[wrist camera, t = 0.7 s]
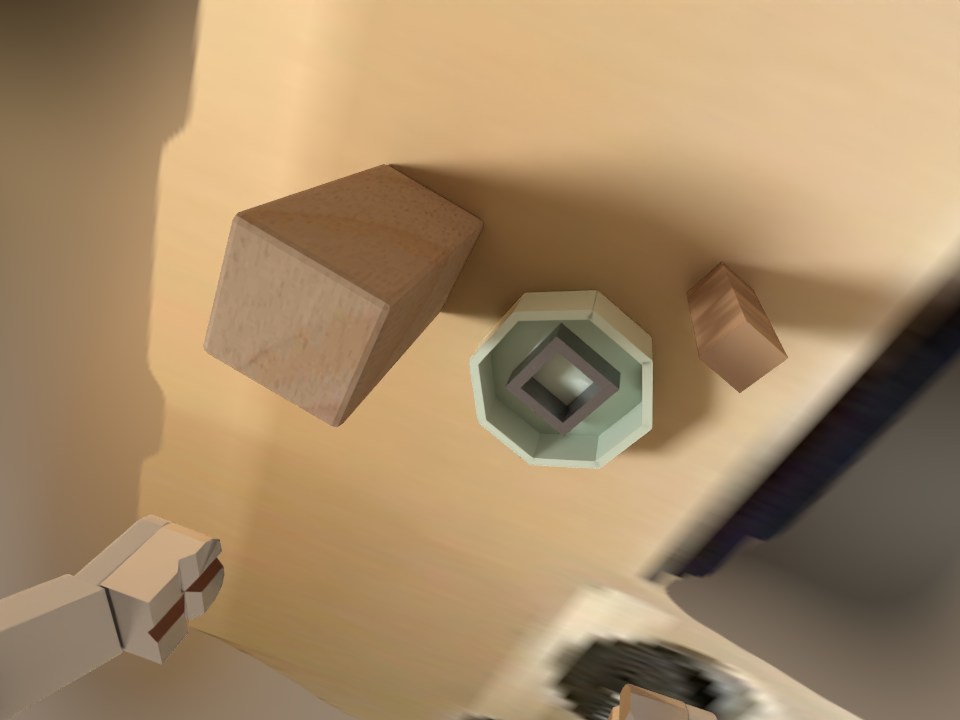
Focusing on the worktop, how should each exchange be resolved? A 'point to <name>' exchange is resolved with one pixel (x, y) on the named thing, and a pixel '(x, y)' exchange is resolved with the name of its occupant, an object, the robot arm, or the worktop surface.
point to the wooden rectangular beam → (733, 329)
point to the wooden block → (336, 286)
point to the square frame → (549, 404)
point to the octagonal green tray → (565, 379)
